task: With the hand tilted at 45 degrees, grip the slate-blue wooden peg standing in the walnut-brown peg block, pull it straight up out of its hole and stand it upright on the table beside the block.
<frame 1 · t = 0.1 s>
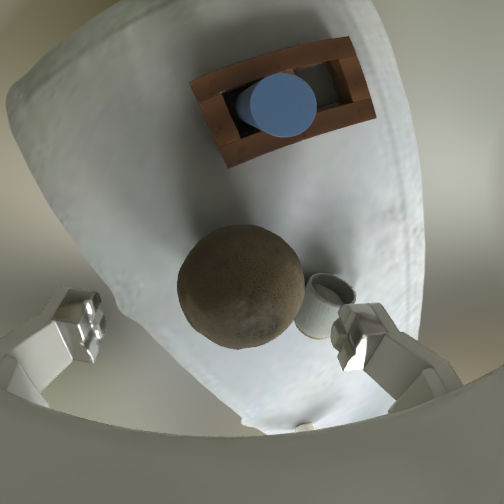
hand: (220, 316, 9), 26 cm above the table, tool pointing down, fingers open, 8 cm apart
foam cup: (304, 426, 72), on the table
peg block: (283, 96, 28), on the table
cantaloupe: (235, 250, 38), on the table
peg: (253, 106, 28), resting in peg block
ceramic mug: (323, 291, 43), on the table
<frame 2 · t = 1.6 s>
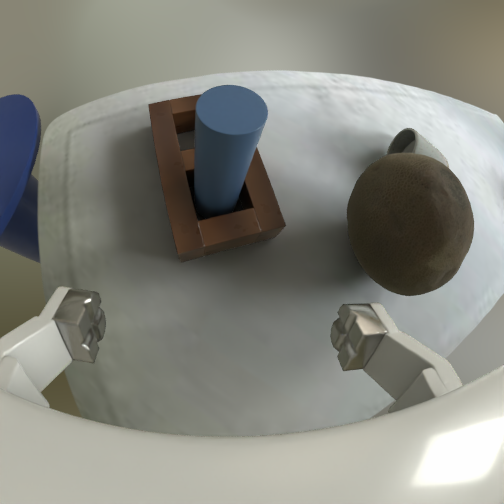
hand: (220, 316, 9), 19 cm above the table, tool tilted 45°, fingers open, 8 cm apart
peg block: (207, 174, 30), on the table
cantaloupe: (368, 244, 32), on the table
peg: (215, 201, 29), resting in peg block
ceramic mug: (402, 166, 37), on the table
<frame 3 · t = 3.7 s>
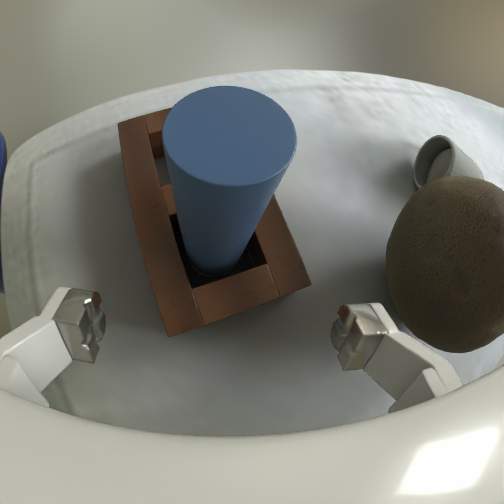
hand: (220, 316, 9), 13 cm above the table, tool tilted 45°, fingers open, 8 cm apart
peg block: (200, 211, 23), on the table
cantaloupe: (403, 283, 25), on the table
peg: (213, 249, 22), resting in peg block
ceramic mug: (430, 179, 30), on the table
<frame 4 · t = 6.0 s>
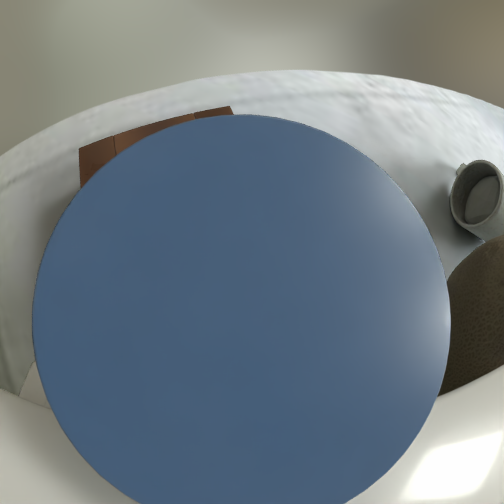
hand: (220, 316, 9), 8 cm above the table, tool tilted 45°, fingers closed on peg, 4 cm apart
peg block: (193, 271, 17), on the table
cantaloupe: (437, 342, 19), on the table
peg: (212, 325, 16), resting in peg block, touching gripper
ceramic mug: (465, 208, 24), on the table
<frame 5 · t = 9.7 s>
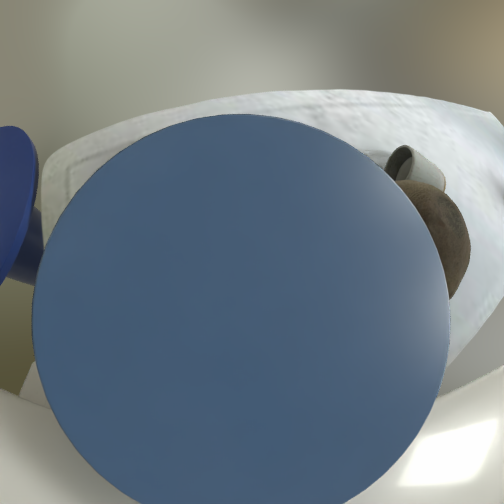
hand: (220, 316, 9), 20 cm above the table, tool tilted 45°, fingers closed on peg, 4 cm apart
cantaloupe: (369, 266, 33), on the table
peg: (212, 325, 16), point 12 cm above the table, touching gripper
ceramic mug: (399, 182, 38), on the table
when the fingers open (8 cm above the table, at t = 13.8 s): peg stays where it is, on the table.
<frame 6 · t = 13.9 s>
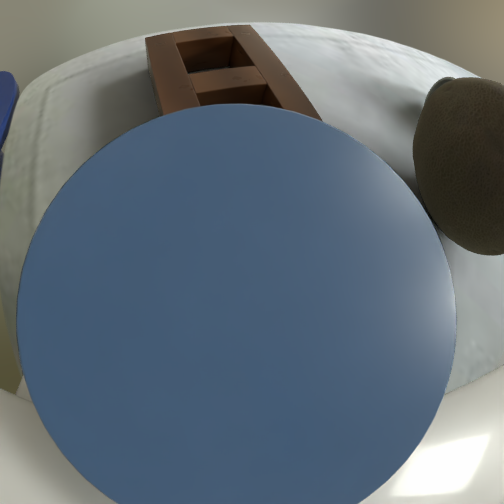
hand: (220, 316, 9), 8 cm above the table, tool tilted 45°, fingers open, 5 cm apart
peg block: (222, 112, 21), on the table
cantaloupe: (430, 203, 23), on the table
peg: (213, 325, 16), on the table
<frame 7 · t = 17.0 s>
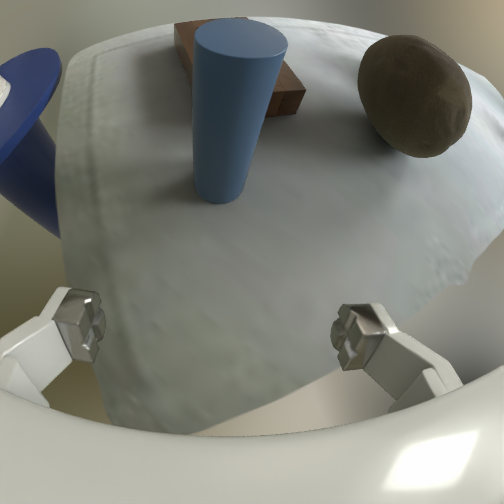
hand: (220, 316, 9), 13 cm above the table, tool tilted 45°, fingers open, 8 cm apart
peg block: (227, 71, 28), on the table
cantaloupe: (382, 132, 30), on the table
peg: (219, 181, 24), on the table
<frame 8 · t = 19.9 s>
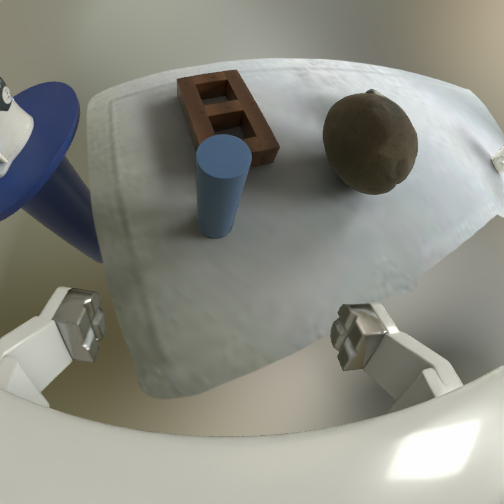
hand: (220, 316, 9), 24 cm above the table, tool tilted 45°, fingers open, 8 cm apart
foam cup: (496, 165, 57), on the table
peg block: (221, 124, 39), on the table
cantaloupe: (346, 170, 41), on the table
peg: (215, 222, 35), on the table
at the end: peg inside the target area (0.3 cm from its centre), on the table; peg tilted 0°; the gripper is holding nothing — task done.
